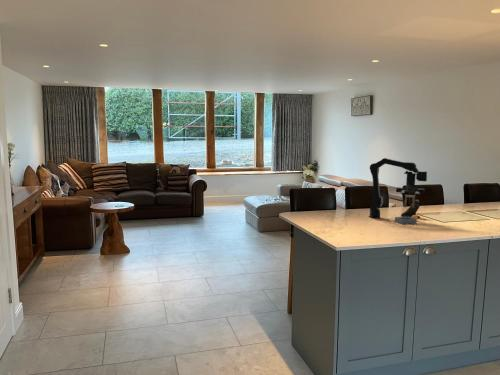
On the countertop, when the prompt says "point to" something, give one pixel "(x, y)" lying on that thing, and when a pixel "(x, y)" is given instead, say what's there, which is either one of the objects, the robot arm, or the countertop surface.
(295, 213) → the countertop surface
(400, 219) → the tray
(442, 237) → the countertop surface
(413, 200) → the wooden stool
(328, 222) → the countertop surface
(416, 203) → the sculpture
